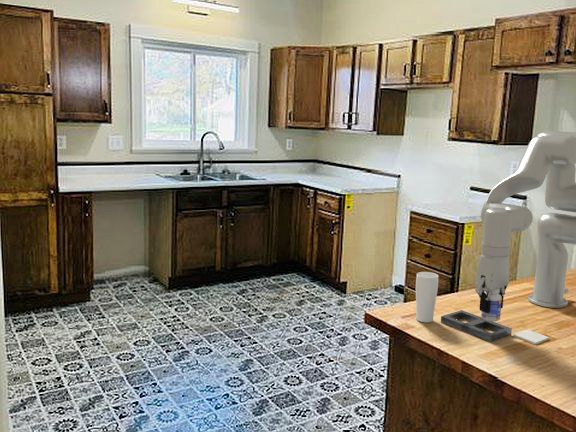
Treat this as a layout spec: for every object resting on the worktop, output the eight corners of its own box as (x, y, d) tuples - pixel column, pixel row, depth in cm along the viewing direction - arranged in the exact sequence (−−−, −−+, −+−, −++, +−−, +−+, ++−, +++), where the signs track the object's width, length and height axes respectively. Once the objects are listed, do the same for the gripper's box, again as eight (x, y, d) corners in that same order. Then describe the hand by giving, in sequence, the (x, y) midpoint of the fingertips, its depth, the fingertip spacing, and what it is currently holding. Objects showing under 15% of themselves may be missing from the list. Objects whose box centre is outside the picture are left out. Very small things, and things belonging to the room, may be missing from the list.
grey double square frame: (461, 315, 175) (461, 310, 175) (511, 334, 161) (511, 328, 161) (440, 322, 170) (441, 316, 169) (490, 342, 155) (491, 335, 155)
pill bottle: (501, 322, 158) (504, 291, 156) (482, 321, 159) (484, 289, 157) (498, 315, 163) (500, 285, 162) (479, 314, 165) (481, 283, 163)
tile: (526, 331, 164) (526, 329, 164) (548, 339, 158) (549, 337, 158) (513, 336, 160) (513, 334, 160) (535, 344, 154) (535, 342, 154)
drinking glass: (439, 320, 172) (442, 274, 169) (428, 326, 167) (432, 279, 164) (420, 314, 176) (423, 270, 173) (409, 320, 171) (412, 274, 168)
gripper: (501, 243, 165) (497, 299, 169) (466, 252, 155) (462, 311, 159) (524, 248, 159) (519, 307, 163) (488, 258, 149) (484, 319, 153)
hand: (491, 308), depth 161 cm, fingers closed on pill bottle, 5 cm apart
